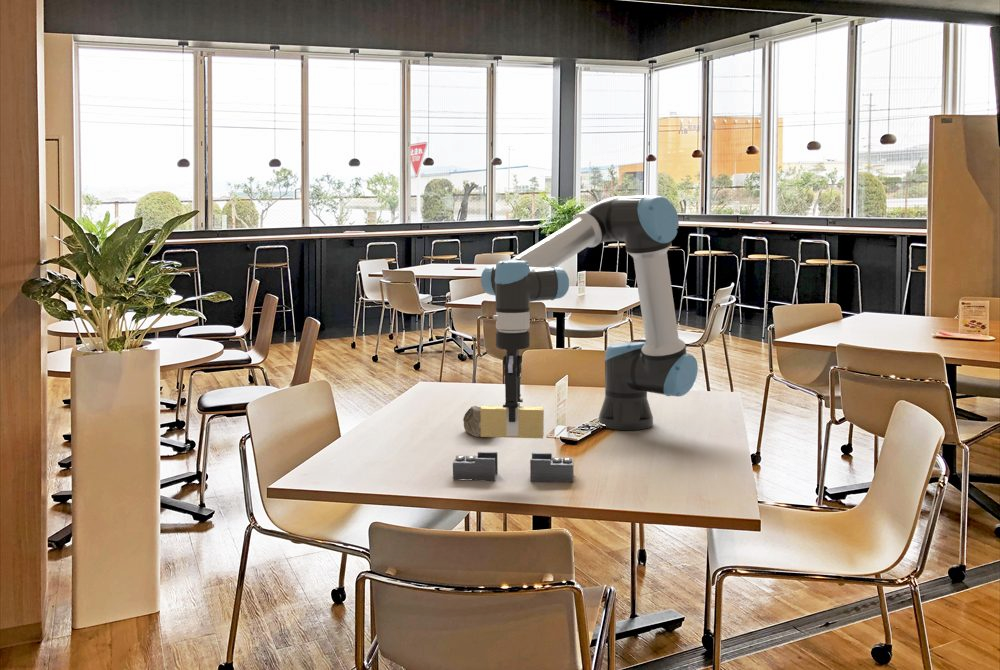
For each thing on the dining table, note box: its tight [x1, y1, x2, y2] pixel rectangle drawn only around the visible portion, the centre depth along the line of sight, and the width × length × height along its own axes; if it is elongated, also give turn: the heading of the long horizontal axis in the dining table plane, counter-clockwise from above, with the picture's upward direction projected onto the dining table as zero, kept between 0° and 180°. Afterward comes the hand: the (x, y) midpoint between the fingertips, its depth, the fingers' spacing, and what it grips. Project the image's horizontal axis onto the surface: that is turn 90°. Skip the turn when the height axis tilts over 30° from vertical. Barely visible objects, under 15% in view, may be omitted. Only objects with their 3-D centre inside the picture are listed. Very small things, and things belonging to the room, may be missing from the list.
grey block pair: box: [452, 451, 575, 484], centre depth 203 cm, size 27×6×5 cm, turn 84°
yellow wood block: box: [480, 405, 545, 440], centre depth 201 cm, size 14×3×6 cm, turn 84°
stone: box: [462, 405, 482, 438], centre depth 242 cm, size 7×12×7 cm, turn 33°
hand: (513, 433), depth 202 cm, fingers closed on yellow wood block, 3 cm apart
